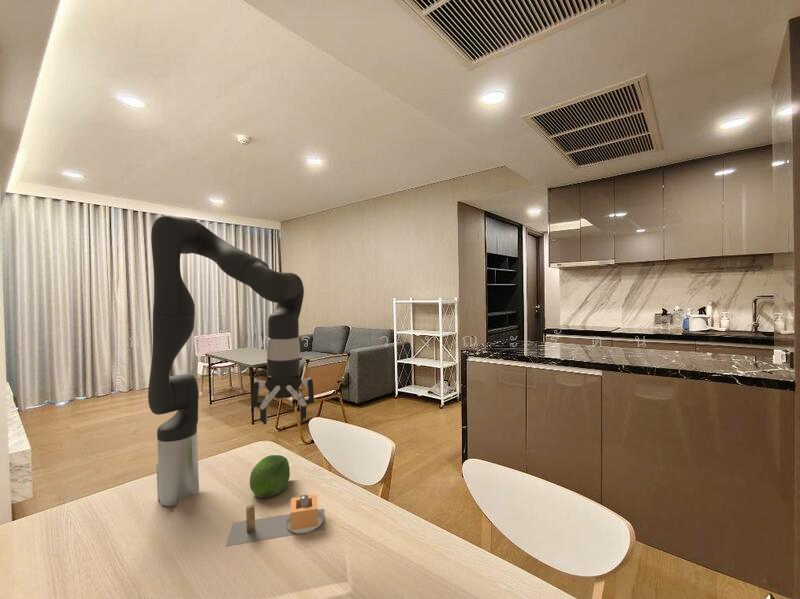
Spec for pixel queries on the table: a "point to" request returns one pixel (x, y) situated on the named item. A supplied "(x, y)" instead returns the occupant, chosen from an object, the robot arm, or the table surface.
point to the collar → (303, 513)
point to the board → (262, 530)
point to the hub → (309, 529)
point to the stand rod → (250, 518)
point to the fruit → (270, 476)
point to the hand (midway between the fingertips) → (283, 421)
